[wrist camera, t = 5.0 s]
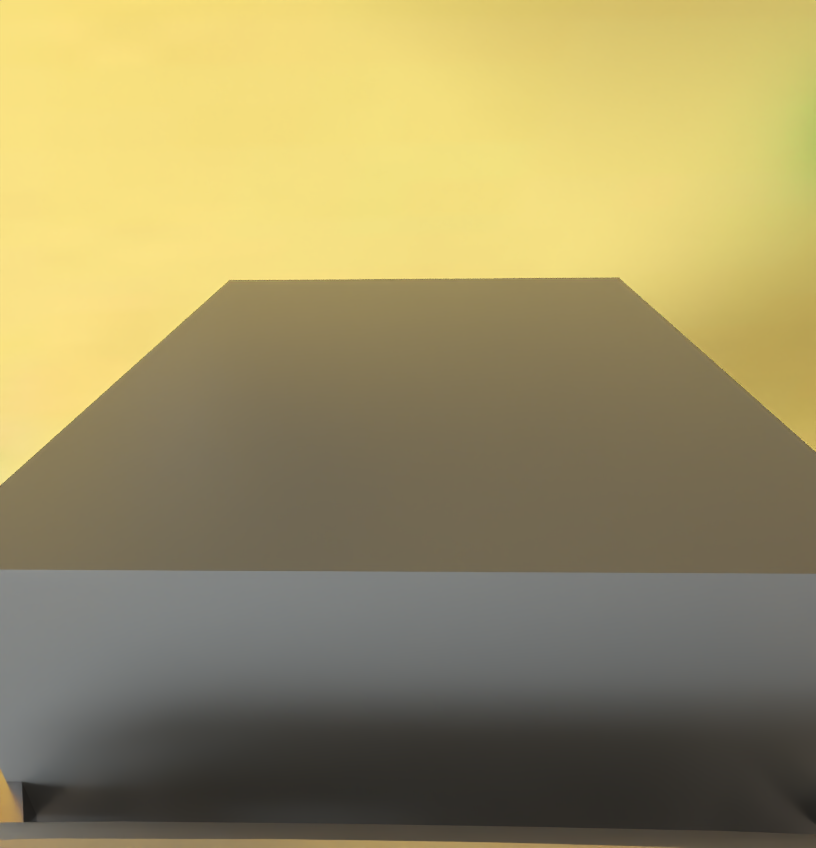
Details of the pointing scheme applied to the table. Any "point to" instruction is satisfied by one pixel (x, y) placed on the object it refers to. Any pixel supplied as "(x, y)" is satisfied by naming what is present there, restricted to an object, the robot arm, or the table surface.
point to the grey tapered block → (416, 572)
